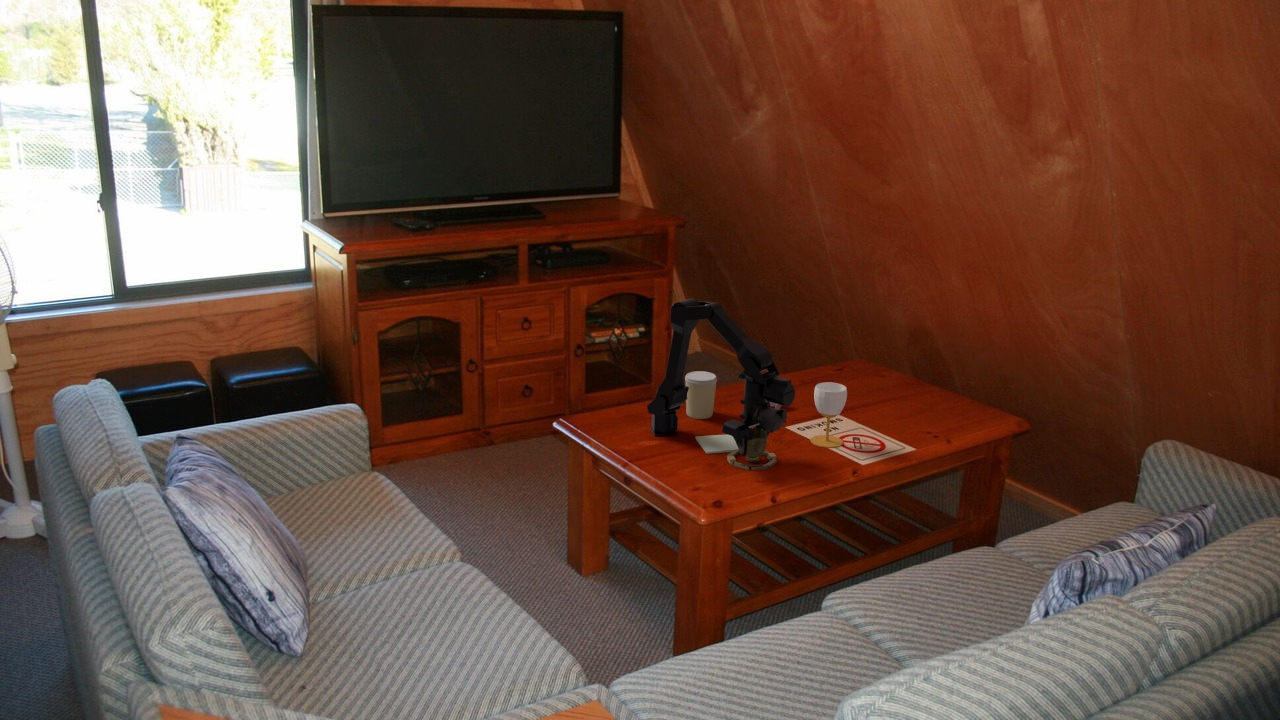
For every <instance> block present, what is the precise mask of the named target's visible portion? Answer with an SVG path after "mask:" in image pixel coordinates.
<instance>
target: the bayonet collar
mask: <svg viewBox="0 0 1280 720" xmlns="http://www.w3.org/2000/svg"><path fill="white" fill-rule="evenodd" d="M739 454H740V455H741V453H740V451H739V449H737V450H734V451H732V452H728V454H727V455H726V460H727V462H728V463H729V464H730V465H731V466H733V467H735V468H740V469H742V470H743V469H744V470H747V471H750V470H751V471H758V470H759V471H760V470H768V469H771V468H772V467H773V466H775V465H776V464H777V463H778V459H777V455H776V454H775V453H774V452H770V451H768V450H765V451H764V453H763V454H762V455H761V456H764V457H765V456H766V458H767V459H768V460H769V461H768V462H767V463H765V464H757V465H756V464H754V465H753V464H752V465H750V464H745V463H742V462H738V461H737V459H736V457H735V456H737V455H739Z"/></svg>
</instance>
